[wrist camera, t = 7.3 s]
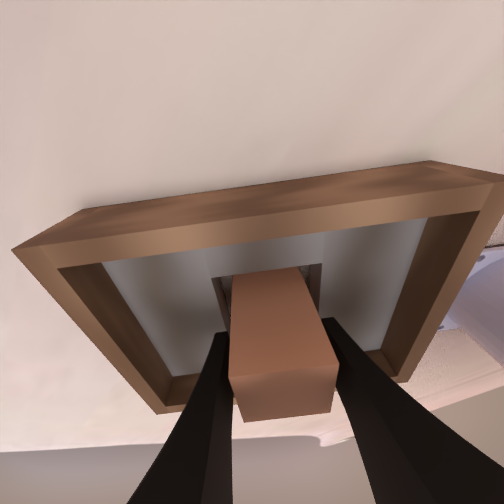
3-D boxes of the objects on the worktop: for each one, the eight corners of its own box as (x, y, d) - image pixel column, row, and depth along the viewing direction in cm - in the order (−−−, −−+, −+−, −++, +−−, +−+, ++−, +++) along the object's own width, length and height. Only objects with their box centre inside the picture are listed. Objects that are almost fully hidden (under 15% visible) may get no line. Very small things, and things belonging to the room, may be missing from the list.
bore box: (430, 160, 10) (523, 178, 7) (375, 333, 18) (407, 382, 15) (82, 209, 11) (10, 250, 7) (171, 360, 18) (156, 414, 15)
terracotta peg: (294, 257, 13) (339, 364, 7) (294, 301, 15) (330, 412, 9) (233, 265, 13) (228, 377, 7) (242, 308, 16) (243, 422, 10)
